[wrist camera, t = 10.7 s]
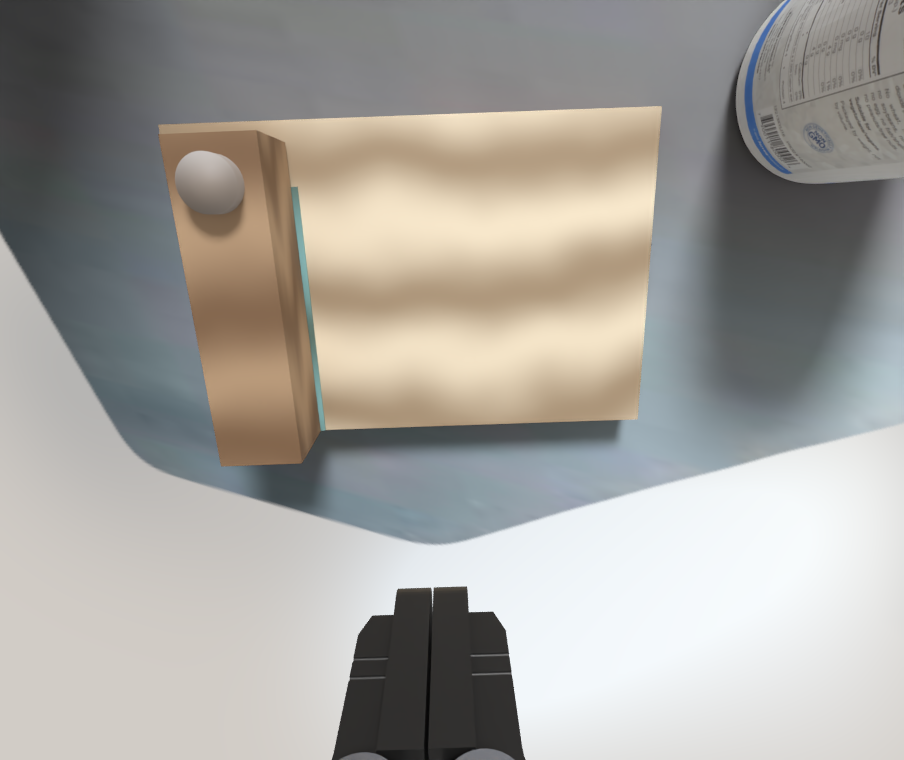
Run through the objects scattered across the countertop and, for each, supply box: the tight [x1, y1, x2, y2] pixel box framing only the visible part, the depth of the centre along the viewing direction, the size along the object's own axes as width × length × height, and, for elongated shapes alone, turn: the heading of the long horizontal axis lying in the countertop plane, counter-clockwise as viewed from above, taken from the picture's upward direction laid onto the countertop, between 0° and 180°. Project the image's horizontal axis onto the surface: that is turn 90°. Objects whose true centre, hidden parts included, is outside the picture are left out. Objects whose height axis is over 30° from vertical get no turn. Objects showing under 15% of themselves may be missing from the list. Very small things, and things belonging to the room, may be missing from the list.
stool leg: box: [158, 130, 321, 466], centre depth 25 cm, size 15×4×5 cm, turn 2°
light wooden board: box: [158, 106, 662, 431], centre depth 29 cm, size 16×24×3 cm, turn 92°
